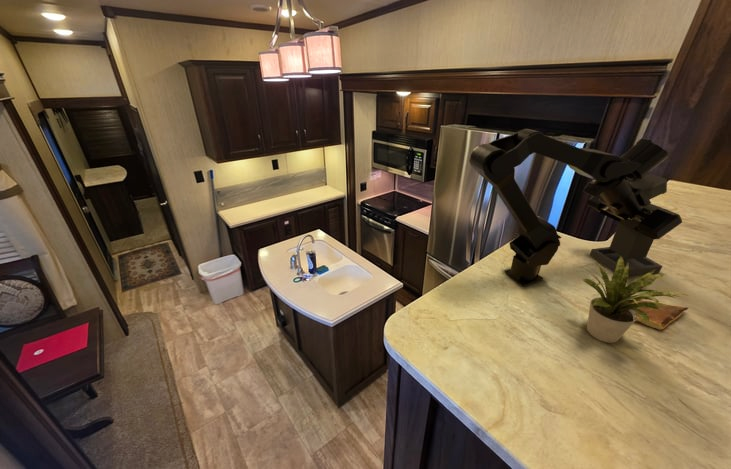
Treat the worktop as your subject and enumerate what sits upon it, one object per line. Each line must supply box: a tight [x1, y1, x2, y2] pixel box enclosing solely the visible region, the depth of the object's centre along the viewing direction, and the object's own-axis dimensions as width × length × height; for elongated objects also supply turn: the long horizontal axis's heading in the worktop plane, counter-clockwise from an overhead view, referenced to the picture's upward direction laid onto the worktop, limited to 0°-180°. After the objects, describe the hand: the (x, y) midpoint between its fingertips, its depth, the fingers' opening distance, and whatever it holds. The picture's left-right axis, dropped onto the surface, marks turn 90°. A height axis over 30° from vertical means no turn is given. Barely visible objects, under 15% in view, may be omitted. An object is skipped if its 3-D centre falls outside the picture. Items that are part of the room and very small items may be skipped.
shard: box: [634, 299, 689, 331], centre depth 59 cm, size 11×8×2 cm
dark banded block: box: [608, 202, 668, 259], centre depth 72 cm, size 5×6×13 cm
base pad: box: [589, 246, 663, 278], centre depth 76 cm, size 10×10×2 cm
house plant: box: [581, 256, 690, 343], centre depth 53 cm, size 14×14×16 cm
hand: (641, 229), depth 72 cm, fingers closed on dark banded block, 5 cm apart
